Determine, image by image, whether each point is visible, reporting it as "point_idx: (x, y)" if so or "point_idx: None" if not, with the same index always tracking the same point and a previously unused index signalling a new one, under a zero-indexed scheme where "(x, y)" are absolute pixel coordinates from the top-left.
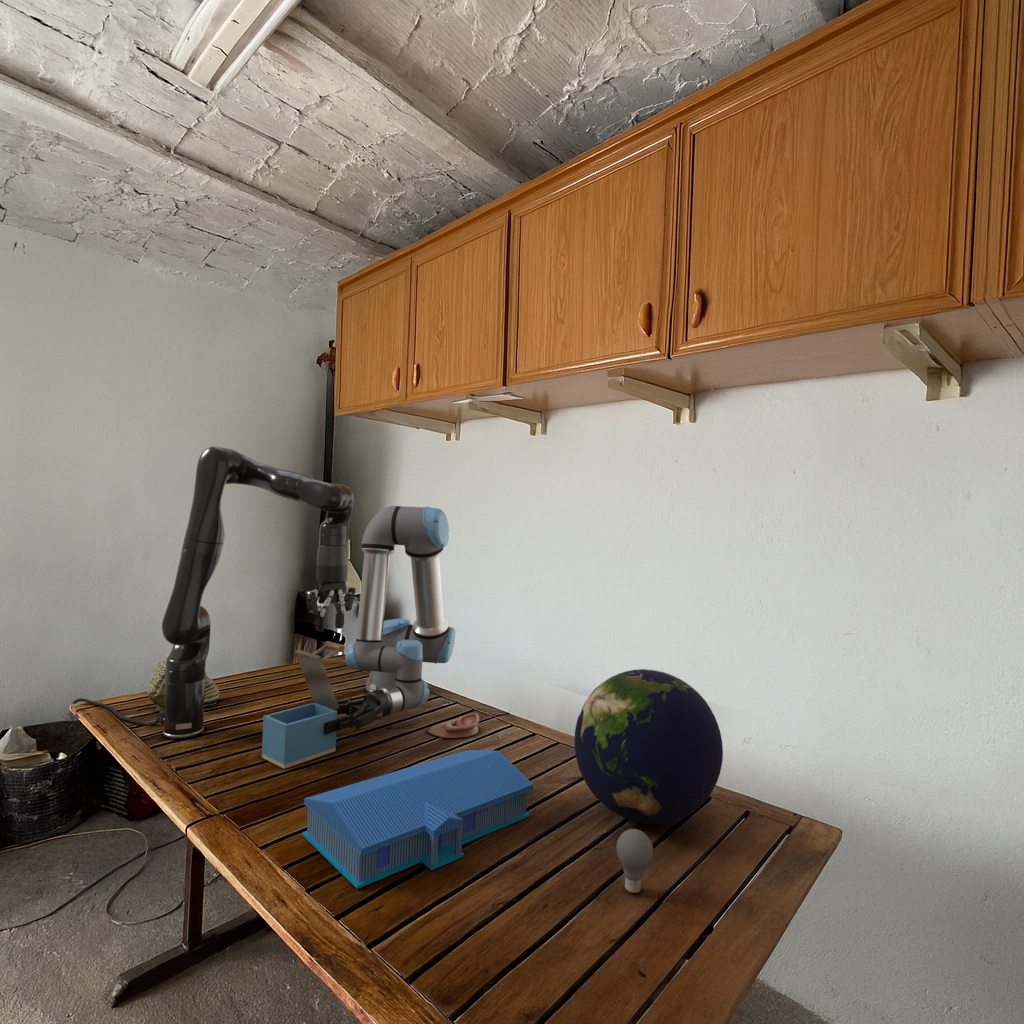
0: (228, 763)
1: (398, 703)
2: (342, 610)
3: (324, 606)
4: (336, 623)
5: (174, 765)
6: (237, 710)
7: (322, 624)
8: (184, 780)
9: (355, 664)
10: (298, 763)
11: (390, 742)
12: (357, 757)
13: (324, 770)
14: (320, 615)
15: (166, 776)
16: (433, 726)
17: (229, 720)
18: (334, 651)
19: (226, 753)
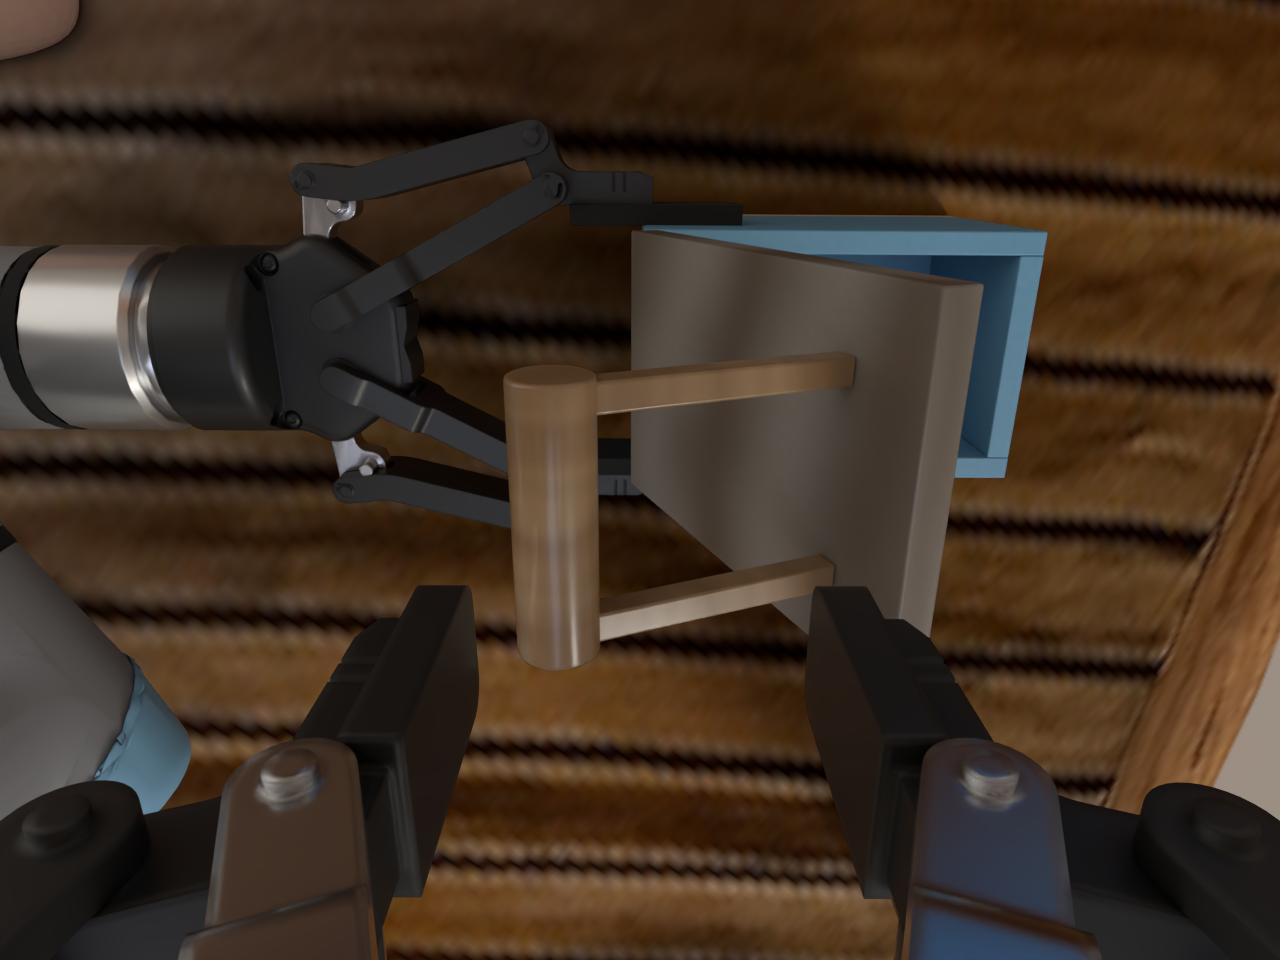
0: (1048, 453)
1: (104, 245)
2: (335, 801)
3: (1074, 934)
4: (463, 718)
5: (1179, 583)
6: (657, 910)
7: (883, 643)
8: (1261, 426)
9: (146, 693)
10: (868, 215)
11: (349, 84)
12: (615, 50)
13: (838, 42)
14: (1030, 767)
15: (1268, 510)
16: (11, 23)
17: (747, 840)
18: (649, 388)
19: (982, 551)
